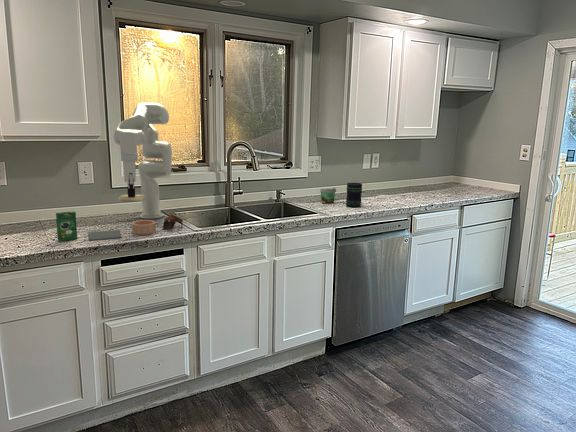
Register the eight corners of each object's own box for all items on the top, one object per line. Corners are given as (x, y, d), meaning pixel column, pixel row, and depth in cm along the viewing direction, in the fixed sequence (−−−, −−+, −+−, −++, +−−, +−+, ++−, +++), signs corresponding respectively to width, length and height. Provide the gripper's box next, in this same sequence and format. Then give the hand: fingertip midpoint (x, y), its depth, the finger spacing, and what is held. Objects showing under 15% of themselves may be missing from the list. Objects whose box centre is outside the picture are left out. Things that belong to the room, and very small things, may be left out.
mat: (88, 233, 222) (88, 232, 222) (119, 230, 228) (119, 229, 228) (89, 240, 210) (89, 239, 210) (121, 238, 215) (121, 236, 215)
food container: (325, 205, 301) (326, 190, 299) (319, 203, 306) (320, 188, 304) (339, 203, 308) (340, 188, 306) (333, 201, 313) (334, 187, 311)
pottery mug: (161, 227, 238) (168, 213, 239) (178, 235, 240) (185, 220, 241) (160, 227, 227) (167, 212, 228) (178, 235, 228) (185, 220, 229)
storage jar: (343, 205, 301) (344, 183, 298) (355, 204, 305) (357, 182, 302) (350, 208, 292) (352, 185, 289) (364, 207, 296) (365, 184, 293)
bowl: (131, 230, 229) (130, 220, 228) (154, 228, 233) (153, 219, 232) (133, 236, 219) (133, 226, 218) (157, 234, 223) (156, 224, 222)
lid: (117, 197, 224) (117, 186, 222) (143, 196, 228) (142, 185, 227) (119, 202, 213) (118, 191, 212) (145, 200, 217) (145, 190, 216)
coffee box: (75, 237, 215) (73, 210, 212) (78, 238, 213) (75, 211, 210) (57, 240, 209) (54, 212, 206) (59, 242, 207) (57, 213, 204)
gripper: (120, 155, 222) (122, 193, 226) (121, 159, 207) (124, 199, 211) (136, 155, 224) (138, 192, 229) (138, 159, 210) (141, 198, 214)
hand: (131, 195), depth 220 cm, fingers closed on lid, 3 cm apart
